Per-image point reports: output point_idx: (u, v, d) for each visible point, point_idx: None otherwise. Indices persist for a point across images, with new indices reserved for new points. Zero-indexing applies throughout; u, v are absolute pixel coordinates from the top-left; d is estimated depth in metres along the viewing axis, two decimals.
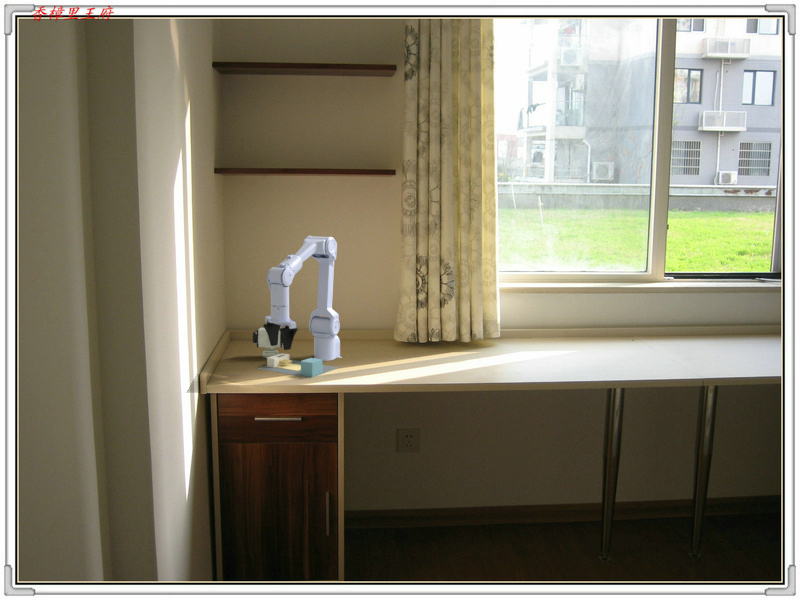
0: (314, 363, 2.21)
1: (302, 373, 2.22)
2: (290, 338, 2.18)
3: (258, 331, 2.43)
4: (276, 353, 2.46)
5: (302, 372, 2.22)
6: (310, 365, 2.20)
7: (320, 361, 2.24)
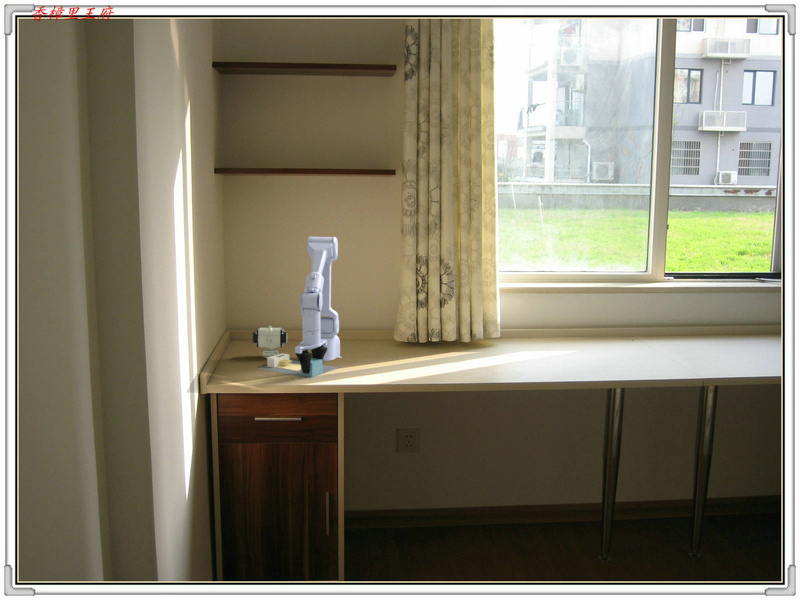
0: (314, 363, 2.21)
1: (302, 373, 2.22)
2: (306, 363, 2.20)
3: (258, 331, 2.43)
4: (276, 353, 2.46)
5: (302, 372, 2.22)
6: (310, 365, 2.20)
7: (320, 361, 2.24)
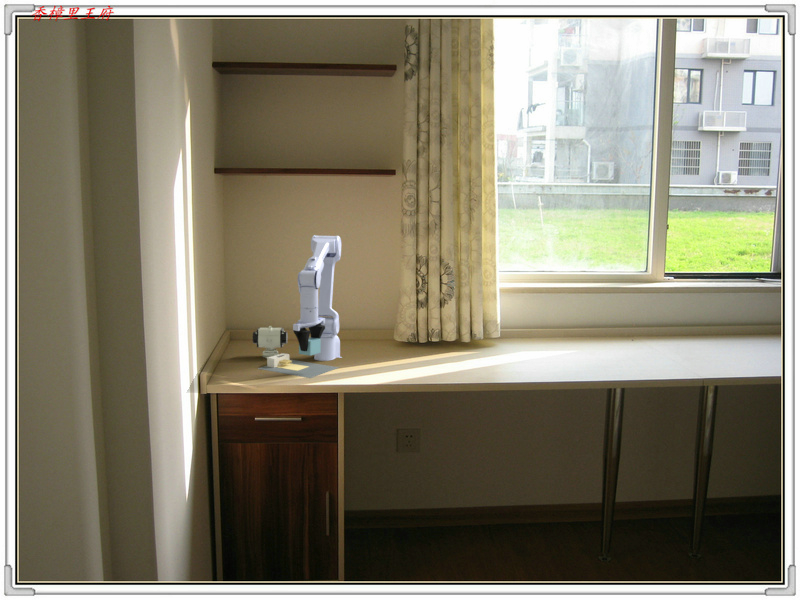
0: (312, 342, 2.22)
1: (300, 352, 2.23)
2: (304, 340, 2.21)
3: (258, 331, 2.43)
4: (276, 353, 2.46)
5: (300, 351, 2.23)
6: (308, 344, 2.21)
7: (318, 340, 2.25)
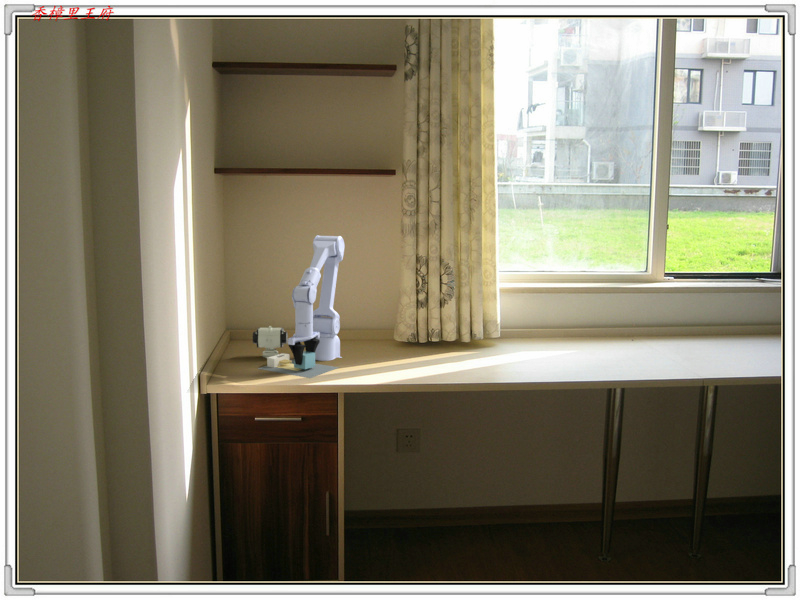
0: (307, 356, 2.27)
1: (295, 365, 2.28)
2: (299, 354, 2.26)
3: (258, 331, 2.43)
4: (276, 353, 2.46)
5: (295, 364, 2.28)
6: (303, 358, 2.26)
7: (313, 354, 2.30)
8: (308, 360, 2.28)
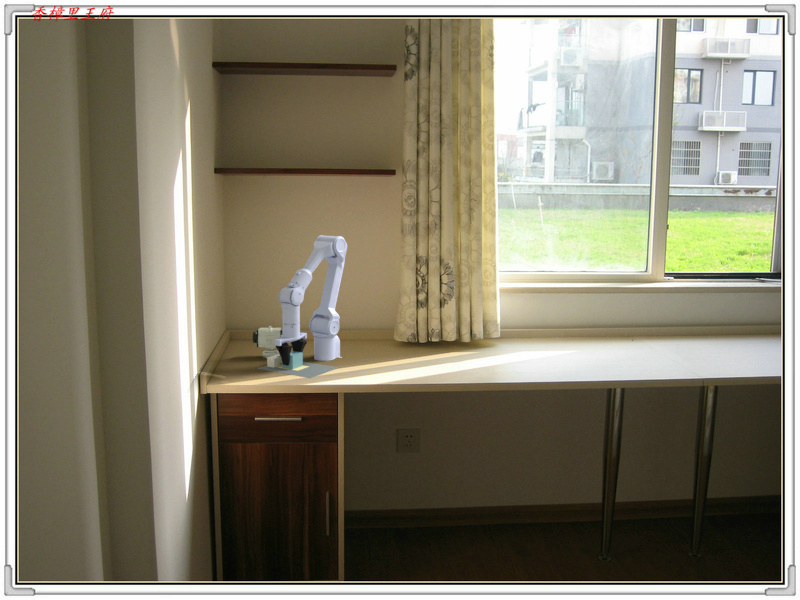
0: (294, 356, 2.30)
1: (283, 365, 2.31)
2: (286, 355, 2.29)
3: (258, 331, 2.43)
4: (276, 353, 2.46)
5: None
6: (290, 358, 2.29)
7: (300, 354, 2.32)
8: (295, 360, 2.30)
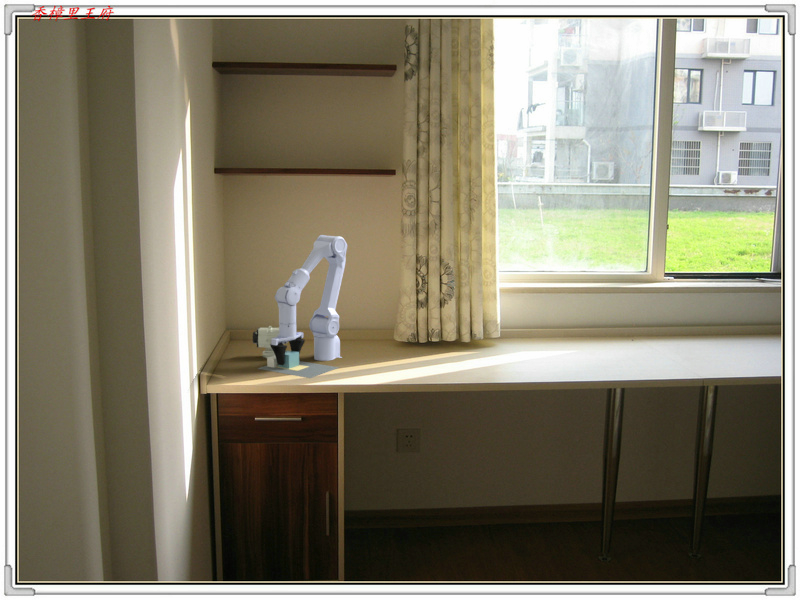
0: (291, 355, 2.30)
1: (279, 365, 2.32)
2: (281, 355, 2.29)
3: (258, 331, 2.43)
4: None
5: None
6: (287, 357, 2.30)
7: (297, 353, 2.33)
8: (292, 359, 2.31)
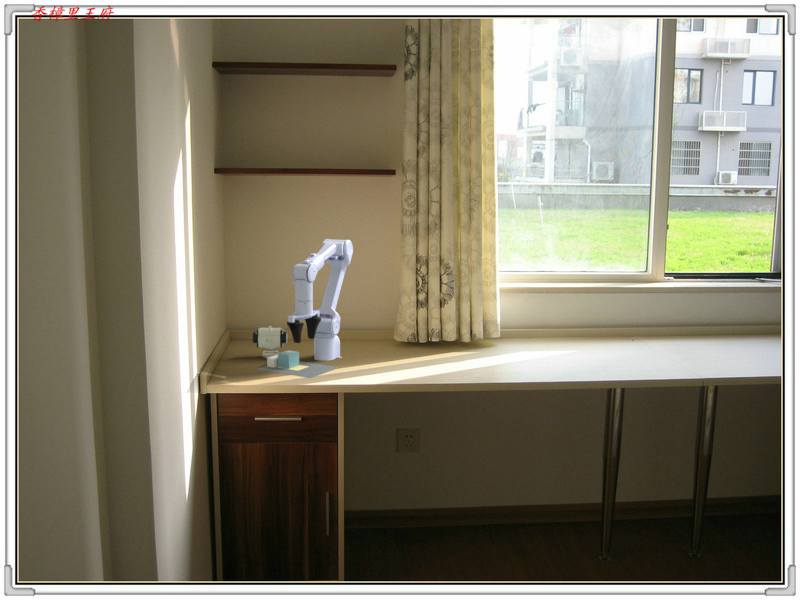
0: (291, 355, 2.30)
1: (279, 365, 2.32)
2: (298, 332, 2.27)
3: (258, 331, 2.43)
4: (276, 353, 2.46)
5: (279, 364, 2.32)
6: (287, 357, 2.30)
7: (297, 353, 2.33)
8: (292, 359, 2.31)
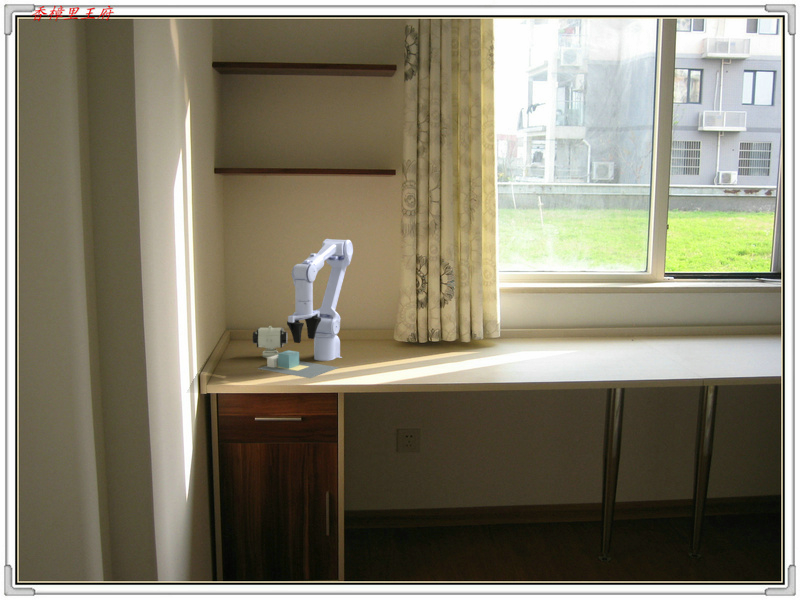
0: (291, 355, 2.30)
1: (279, 365, 2.32)
2: (298, 332, 2.27)
3: (258, 331, 2.43)
4: (276, 353, 2.46)
5: (279, 364, 2.32)
6: (287, 357, 2.30)
7: (297, 353, 2.33)
8: (292, 359, 2.31)
